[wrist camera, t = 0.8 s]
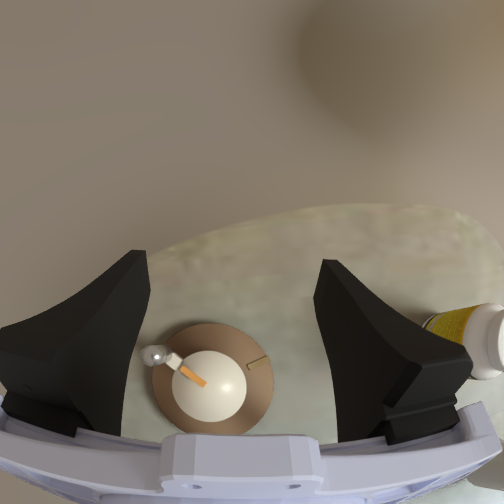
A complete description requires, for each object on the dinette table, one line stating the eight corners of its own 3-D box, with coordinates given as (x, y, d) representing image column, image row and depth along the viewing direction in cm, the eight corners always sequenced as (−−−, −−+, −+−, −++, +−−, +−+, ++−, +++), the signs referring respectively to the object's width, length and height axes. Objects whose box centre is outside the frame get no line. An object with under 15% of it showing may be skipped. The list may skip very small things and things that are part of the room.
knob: (261, 378, 23) (264, 386, 18) (219, 432, 21) (213, 450, 17) (179, 320, 24) (166, 315, 19) (140, 374, 22) (119, 380, 18)
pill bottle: (405, 369, 25) (481, 376, 14) (421, 306, 27) (497, 285, 16) (452, 379, 25) (529, 386, 14) (465, 321, 26) (541, 307, 16)
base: (228, 455, 23) (227, 464, 21) (135, 389, 24) (126, 392, 22) (295, 367, 25) (300, 369, 23) (199, 300, 27) (195, 297, 24)
